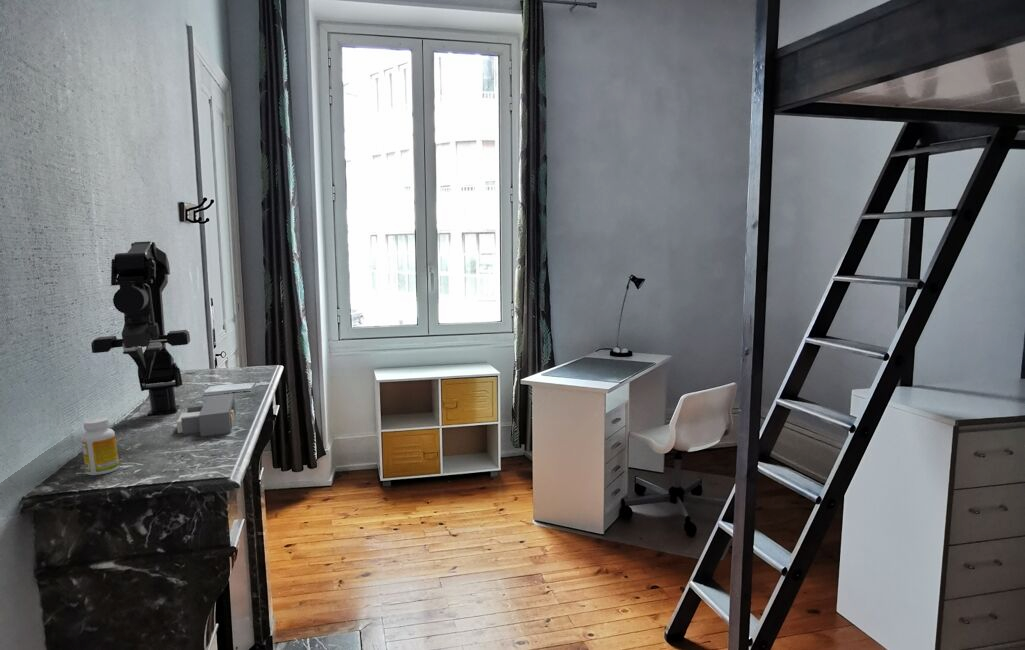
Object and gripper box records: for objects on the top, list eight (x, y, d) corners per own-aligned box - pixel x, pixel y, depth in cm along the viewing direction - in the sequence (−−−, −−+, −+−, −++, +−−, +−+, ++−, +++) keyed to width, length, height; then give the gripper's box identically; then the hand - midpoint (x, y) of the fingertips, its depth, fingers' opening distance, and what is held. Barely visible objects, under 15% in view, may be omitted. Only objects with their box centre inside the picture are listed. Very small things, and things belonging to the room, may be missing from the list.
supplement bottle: (125, 465, 130) (119, 415, 129) (108, 475, 125) (101, 423, 124) (98, 466, 130) (91, 416, 129) (79, 476, 125) (72, 424, 124)
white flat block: (182, 424, 159) (181, 413, 158) (228, 418, 162) (227, 408, 162) (177, 432, 151) (176, 421, 151) (226, 426, 154) (225, 416, 154)
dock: (191, 417, 165) (189, 398, 164) (235, 411, 168) (233, 393, 168) (180, 439, 146) (178, 418, 146) (230, 432, 149) (228, 412, 149)
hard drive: (255, 381, 199) (210, 385, 196) (251, 387, 191) (203, 391, 188) (256, 387, 199) (210, 391, 196) (251, 393, 191) (204, 397, 189)
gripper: (80, 317, 140) (90, 391, 142) (180, 309, 146) (188, 381, 148) (93, 312, 151) (102, 381, 153) (186, 305, 157) (194, 372, 159)
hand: (147, 379), depth 153 cm, fingers closed
